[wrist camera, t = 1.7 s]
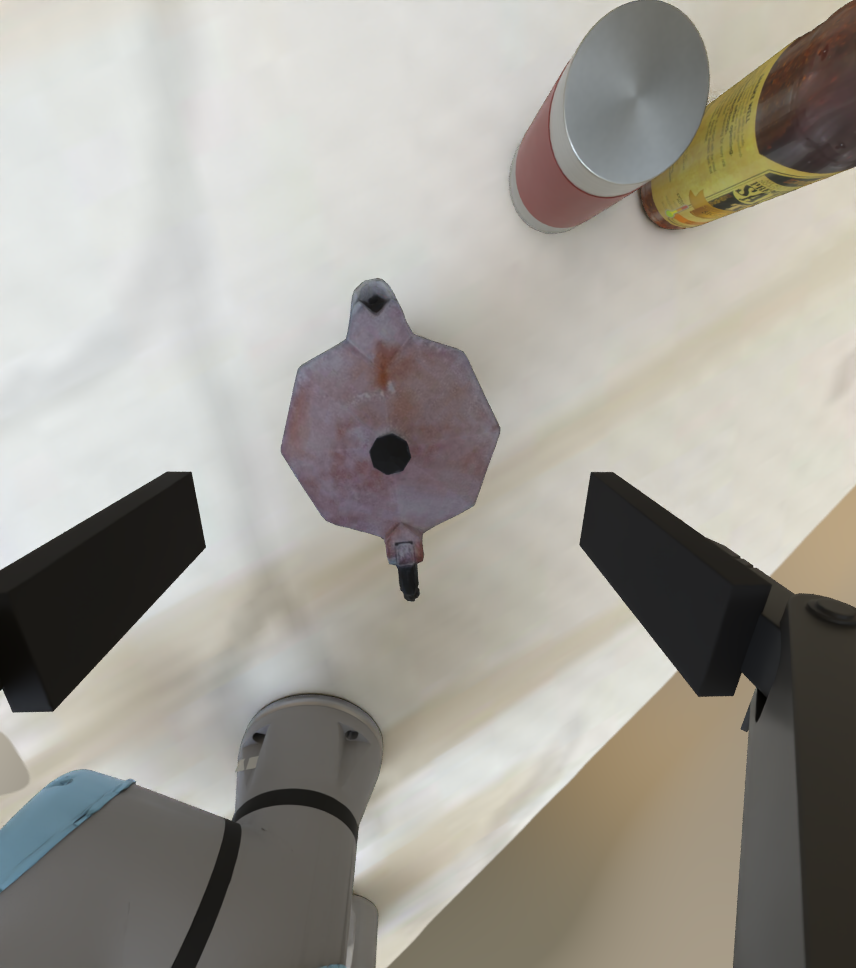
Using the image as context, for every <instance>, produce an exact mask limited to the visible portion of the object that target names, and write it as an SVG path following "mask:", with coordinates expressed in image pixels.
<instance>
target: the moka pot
mask: <svg viewBox="0 0 856 968" xmlns="http://www.w3.org/2000/svg"><path fill="white" fill-rule="evenodd" d="M499 435H500V426H499V424H498V422H497V420H496V418H495V415H494V413H493V411H492V409H491V407H490V405H489V403H488V401H487V399H486V397H485V395H484V393H483V391H482V388H481V386H480V384H479V382H478V380H477V378H476V376H475V374H474V372H473V369H472V367H471V365H470V362H469V360H468V358H467V357H466V355H465V353H464V352H463V351H461V350H459V349H457V348H454V347H451V346H448V345H444V344H441V343H438V342H434V341H431V340H428V339H425V338H423V337H420V336H418V335H415V334H414V333H413V332H412V331H411V329H410V327H409V325H408V323H407V322H406V319H405V316H404V313H403V310H402V308H401V307H400V305H399V303H398V301H397V299H396V297H395V294H394V293H393V291H392V289H391V288H390V286H389V285H388V284H387V283H386V282H385V281H384V280H382V279H379V278H376V279H371V280H366V281H364V282H362V283H361V284H360V285H359V286H358V287H357V288H356V289H355V290H354V293H353V295H352V301H351V312H350V320H349V327H348V332H347V337H346V339H345V340H344V341H342V342H340V343H339V344H337V345H336V346H334V347H333V348H331V349H329V350H327V351H325V352H324V353H322V354H320V355H318V356H316V357H315V358H313V359H311V360H309V361H307V362H306V363H304V364H302V365H301V366H300V367H299V368H298V371H297V375H296V379H295V383H294V388H293V393H292V397H291V402H290V407H289V412H288V417H287V421H286V426H285V431H284V435H283V440H282V445H281V453H282V455H283V457H284V458H285V460H286V461H287V463H288V465H289V466H290V468H291V470H292V471H293V473H294V474H295V476H296V477H297V479H298V481H299V482H300V484H301V485H302V487H303V488H304V490H305V491H306V493H307V494H308V496H309V497H310V499H311V500H312V502H313V503H314V505H315V507H316V508H317V510H318V511H319V513H320V514H321V516H322V517H323V518H324V519H325V520H326V521H328V522H330V523H333V524H335V525H338V526H342V527H347V528H351V529H354V530H358V531H361V532H366V533H370V534H373V535H376V536H379V537H381V538H382V539H384V542H385V545H386V553H387V558H388V561H389V564H392V565H396V566H397V568H398V574H399V584H400V590H401V591H402V592H403V593H404V598H405V599H406V600H407V601H415V599H416V598H418V596H419V595H420V592H419V588H418V585H419V582H418V568H417V564H418V563H420V562H422V561H423V558H424V552H423V544H422V537H423V533H425V532H426V531H428V530H429V529H431V528H433V527H434V526H436V525H438V524H440V523H442V522H444V521H446V520H448V519H450V518H453V517H455V516H456V515H458V514H460V513H462V512H464V511H466V510H467V509H469V508H471V507H473V506H474V505H475V503H476V500H477V497H478V494H479V492H480V489H481V486H482V483H483V480H484V477H485V474H486V471H487V468H488V465H489V463H490V460H491V457H492V454H493V452H494V449H495V446H496V443H497V441H498V438H499Z"/></svg>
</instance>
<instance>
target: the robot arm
mask: <svg viewBox="0 0 856 968" xmlns="http://www.w3.org/2000/svg"><path fill="white" fill-rule="evenodd" d="M579 545H580V546H581V548H582V549H583V550H584V551H585V553H586V554H587V555H588V557H589V558H590V559H591V560H592V562H593V563H594V564H595V565H596V567H597V568H598V569H599V571H600V572H601V573H602V574H603V576H604V577H605V578H606V579H607V581H608V582H609V583H610V585H611V586H612V587H613V588H614V590H615V591H616V592H617V594H618V595H619V596H620V597H621V599H622V600H623V601H624V602H625V604H626V605H627V606H628V608H629V609H630V610H631V611H632V613H633V614H634V615H635V616H636V618H637V619H638V620H639V622H640V623H641V624H642V625H643V627H644V628H645V629H646V630H647V632H648V633H649V634H650V636H651V637H652V638H653V639H654V641H655V642H656V643H657V644H658V646H659V647H660V648H661V650H662V651H663V652H664V653H665V655H666V656H667V657H668V659H669V660H670V661H671V662H672V664H673V665H674V666H675V667H676V669H677V670H678V671H679V672H680V674H681V675H682V676H683V678H684V679H685V680H686V681H687V682H688V684H689V685H690V687H691V688H692V689H693V690H694V692H695V693H696V694H697V695H698V697H703V696H705V697H707V696H733V695H734V693H735V690H736V687H737V685H738V682H739V678H740V676H741V673H743V674H744V675H745V676H746V677H747V678H748V679H749V680H750V681H751V682H752V683H753V684H754V685H755V686H756V689H755V692H754V695H753V697H752V700H751V702H750V705H749V708H748V711H747V713H746V716H745V718H744V721H743V724H742V727H741V730H744V731H746V732H747V731H748V730H749V737H748V750H747V765H746V780H745V795H744V811H743V825H742V840H741V856H740V870H739V885H738V900H737V916H736V930H735V945H734V961H733V968H856V608H855V607H853V606H851V605H848V604H846V603H843V602H840V601H838V600H834V599H831V598H829V597H824V596H820V595H814V594H802V593H801V594H800V593H799V594H796V595H795V594H794V593H792V592H791V591H789V590H788V589H787V588H785V587H784V586H782V585H781V584H779V583H778V582H776V581H775V580H773V579H772V578H771V577H769V576H768V575H766V574H765V573H763V572H762V571H760V570H759V569H758V568H753V565H752V564H750V563H749V562H747V561H746V560H744V559H740V556H739V555H737V554H736V553H734V552H733V551H731V550H730V549H729V548H727V547H726V546H724V545H722V544H719V543H717V542H715V541H713V540H710V539H708V538H706V537H704V536H703V535H701V534H700V533H699V532H697V531H696V530H694V529H693V528H691V527H690V526H689V525H687V524H686V523H684V522H683V521H682V520H680V519H679V518H677V517H676V516H674V515H673V514H672V513H670V512H669V511H667V510H666V509H665V508H663V507H662V506H660V505H659V504H657V503H656V502H655V501H653V500H652V499H650V498H649V497H648V496H646V495H645V494H643V493H642V492H640V491H639V490H638V489H636V488H635V487H633V486H632V485H631V484H629V483H628V482H626V481H625V480H623V479H622V478H621V477H619V476H618V475H616V474H615V473H614V472H591V475H590V481H589V487H588V494H587V500H586V506H585V513H584V519H583V525H582V532H581V538H580V544H579ZM205 548H206V545H205V540H204V535H203V530H202V524H201V519H200V514H199V509H198V503H197V498H196V493H195V487H194V482H193V477H192V472H166V473H164V474H162V475H161V476H159V477H157V478H156V479H154V480H152V481H151V482H149V483H147V484H146V485H144V486H142V487H140V488H139V489H137V490H135V491H134V492H132V493H130V494H129V495H127V496H125V497H124V498H122V499H120V500H118V501H117V502H115V503H113V504H112V505H110V506H108V507H107V508H105V509H103V510H102V511H100V512H98V513H96V514H95V515H93V516H91V517H90V518H88V519H86V520H85V521H83V522H81V523H80V524H78V525H76V526H74V527H73V528H71V529H69V530H68V531H66V532H64V533H63V534H61V535H59V536H58V537H56V538H54V539H52V540H51V541H49V542H47V543H46V544H44V545H42V546H41V547H39V548H37V549H36V550H34V551H32V552H30V553H29V554H27V555H25V556H24V557H22V558H20V559H19V560H17V561H15V562H14V563H12V564H10V565H8V566H7V567H5V568H3V569H2V570H0V690H2V689H3V691H4V694H5V696H6V698H7V700H8V703H9V705H10V707H11V710H12V712H53V711H54V710H55V709H56V708H57V707H58V706H59V705H60V704H61V703H62V701H63V700H64V699H65V698H66V697H67V696H68V695H69V694H70V693H71V692H72V691H73V690H74V689H75V687H76V686H77V685H78V684H79V683H80V682H81V681H82V680H83V679H84V678H85V677H86V676H87V675H88V674H89V672H90V671H91V670H92V669H93V668H94V667H95V666H96V665H97V664H98V663H99V662H100V661H101V660H102V658H103V657H104V656H105V655H106V654H107V653H108V652H109V651H110V650H111V649H112V648H113V647H114V646H115V645H116V643H117V642H118V641H119V640H120V639H121V638H122V637H123V636H124V635H125V634H126V633H127V632H128V631H129V629H130V628H131V627H132V626H133V625H134V624H135V623H136V622H137V621H138V620H139V619H140V618H141V617H142V616H143V614H144V613H145V612H146V611H147V610H148V609H149V608H150V607H151V606H152V605H153V604H154V603H155V602H156V600H157V599H158V598H159V597H160V596H161V595H162V594H163V593H164V592H165V591H166V590H167V589H168V588H169V586H170V585H171V584H172V583H173V582H174V581H175V580H176V579H177V578H178V577H179V576H180V575H181V574H182V573H183V571H184V570H185V569H186V568H187V567H188V566H189V565H190V564H191V563H192V562H193V561H194V560H195V559H196V557H197V556H198V555H199V554H200V553H201V552H202V551H203V550H204V549H205ZM382 754H383V741H382V736H381V733H380V730H379V729H378V727H377V725H376V724H375V722H374V721H373V720H372V718H371V717H370V716H369V715H368V714H367V713H365V712H364V711H363V710H361V709H360V708H358V707H357V706H355V705H353V704H351V703H349V702H347V701H344V700H342V699H338V698H335V697H331V696H325V695H310V694H308V695H297V696H292V697H287V698H284V699H281V700H278V701H276V702H274V703H272V704H270V705H268V706H267V707H265V708H263V709H262V710H261V711H260V712H259V713H258V714H256V715H255V717H254V718H253V719H252V720H251V722H250V723H249V725H248V727H247V729H246V732H245V734H244V737H243V739H242V742H241V746H240V750H239V755H238V766H237V768H236V771H235V772H237V786H236V804H235V813H234V816H233V819H232V821H230V820H228V819H225V818H223V817H220V816H217V815H215V814H212V813H209V812H207V811H204V810H201V809H199V808H196V807H193V806H191V805H188V804H186V803H183V802H180V801H178V800H175V799H172V798H170V797H167V796H165V795H162V794H159V793H157V792H154V791H151V790H149V789H146V788H143V787H141V786H138V785H136V784H135V783H136V781H135V780H133V779H128V780H126V781H124V780H121V779H118V778H114V777H111V776H108V775H105V774H101V773H98V772H95V771H92V770H86V769H81V770H75V771H71V772H69V773H66V774H64V775H62V776H60V777H58V778H57V779H55V780H54V781H52V782H51V783H49V784H48V785H47V786H46V787H44V788H43V789H42V790H41V791H40V792H39V793H37V794H36V795H35V796H34V797H33V798H32V799H31V800H30V801H29V802H28V803H27V804H26V805H25V806H24V807H23V808H21V809H20V810H19V811H18V812H17V813H16V814H15V815H14V816H13V817H12V818H11V819H10V820H9V821H8V822H7V823H6V824H5V826H4V827H3V828H2V829H1V830H0V968H347V967H346V958H347V947H348V936H349V925H350V915H351V904H352V893H353V882H354V872H355V861H356V849H357V839H358V829H359V824H360V822H361V819H362V817H363V814H364V812H365V809H366V807H367V804H368V802H369V799H370V797H371V794H372V792H373V789H374V787H375V784H376V781H377V779H378V776H379V773H380V768H381V764H382Z"/></svg>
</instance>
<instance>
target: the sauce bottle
mask: <svg viewBox="0 0 856 968" xmlns="http://www.w3.org/2000/svg"><path fill="white" fill-rule="evenodd" d="M853 167H856V0H853V1H851V2H849V3H847V4H846V5H845V6H843V7H842V8H840V9H838V10H837V11H836V12H835V13H834V14H833V15H831V16H830V17H829V18H828V19H827V20H826V21H825V22H823V23H822V24H820V25H818V26H817V27H816V28H815V29H813V30H812V31H810V32H808V33H806V34H804V35H803V36H802V37H798V38H797V39H796V40H794V41H793V42H792V43H790V44H789V45H787V46H786V47H785V48H783V49H782V50H781V51H779V52H778V53H777V54H775V55H774V56H773V57H771V58H770V59H769V60H767V61H766V62H765V63H763V64H762V65H761V66H759V67H758V68H757V69H755V70H754V71H753V72H751V73H750V74H749V75H747V76H746V77H745V78H743V79H742V80H741V81H740V82H738V83H737V84H735V85H734V86H733V87H731V88H730V89H729V90H727V91H726V92H725V93H723V94H722V95H721V96H719V97H718V98H717V99H715V100H714V101H713V102H711V103H710V104H709V105H707V106H706V109H705V113H704V116H703V118H702V121H701V124H700V126H699V128H698V130H697V133H696V135H695V137H694V138H693V140H692V142H691V143H690V145H689V146H688V148H687V149H686V151H685V152H684V153H683V155H682V156H681V157H680V158H679V159H678V160H677V161H676V162H675V163H674V164H673V165H672V166H671V167H670V168H668V169H667V170H666V171H664V172H663V173H662V174H660V175H659V176H657V177H655V178H654V179H652V180H651V181H649V182H648V183H646V184H645V185H644V186H642V187H641V199H642V202H643V207H644V209H645V212H646V214H647V215H648V217H649V219H650V220H651V221H653V222H654V223H655V224H657V225H658V226H660V227H662V228H666V229H680V228H681V229H685V228H691V227H696V226H700V225H702V224H705V223H708V222H710V221H713V220H716V219H718V218H721V217H724V216H726V215H729V214H732V213H735V212H737V211H740V210H743V209H745V208H748V207H752V206H754V205H757V204H759V203H762V202H764V201H767V200H770V199H772V198H775V197H777V196H780V195H783V194H786V193H788V192H791V191H794V190H796V189H798V188H801V187H803V186H806V185H809V184H812V183H814V182H817V181H820V180H823V179H826V178H828V177H831V176H833V175H835V174H838V173H840V172H843V171H846V170H848V169H851V168H853Z"/></svg>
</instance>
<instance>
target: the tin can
mask: <svg viewBox="0 0 856 968" xmlns="http://www.w3.org/2000/svg"><path fill="white" fill-rule="evenodd" d="M709 81H710V74H709V62H708V57H707V52H706V49H705V45H704V42H703V40H702V38H701V36H700V33H699V31H698V30H697V28H696V27H695V25H694V24H693V22H692V21H691V20H690V19H689V18H688V17H687V16H686V15H685V14H684V13H683V12H682V11H680V10H679V9H678V8H676V7H674V6H672V5H671V4H668V3H665V2H662V1H658V0H638V1H633V2H629V3H627V4H624V5H621V6H619V7H617V8H616V9H614V10H612V11H610V12H609V13H608V14H606V15H605V16H604V17H602V18H601V19H600V20H599V21H598V22H597V23H596V24H595V25H594V26H593V27H592V28H591V29H590V31H589V32H588V33H587V34H586V36H585V37H584V39H583V40H582V42H581V43H580V45H579V47H578V48H577V50H576V52H575V53H574V55H573V57H572V58H571V59H570V61H569V62H568V63H567V65H566V67H565V68H564V70H563V71H562V73H561V75H560V76H559V78H558V80H557V81H556V83H555V85H554V86H553V88H552V90H551V91H550V93H549V95H548V96H547V98H546V100H545V101H544V103H543V105H542V107H541V108H540V110H539V112H538V113H537V115H536V117H535V118H534V120H533V122H532V123H531V125H530V127H529V128H528V130H527V132H526V133H525V135H524V137H523V139H522V142H521V143H520V145H519V147H518V149H517V151H516V153H515V155H514V158H513V161H512V164H511V169H510V176H509V186H510V194H511V198H512V201H513V204H514V207H515V209H516V211H517V213H518V214H519V216H520V217H521V218H522V219H523V220H524V222H525V223H527V224H528V225H529V226H530V227H532V228H534V229H535V230H538V231H540V232H544V233H550V234H554V233H562V232H566V231H568V230H571V229H573V228H575V227H576V226H578V225H580V224H582V223H584V222H586V221H587V220H589V219H591V218H592V217H594V216H596V215H597V214H599V213H601V212H602V211H604V210H605V209H607V208H609V207H610V206H612V205H614V204H615V203H617V202H618V201H620V200H622V199H623V198H625V197H627V196H628V195H630V194H631V193H633V192H635V191H636V190H638V189H639V188H641V187H642V186H644V185H645V184H646V183H648V182H649V181H651V180H652V179H654V178H655V177H657V176H659V175H660V174H662V173H663V172H664V171H666V170H667V169H668V168H670V167H671V166H672V165H673V164H674V163H675V162H676V161H677V160H678V159H679V158H680V157H681V156H682V155H683V153H684V152H685V151H686V149H687V148H688V146H689V145H690V143H691V142H692V140H693V138H694V137H695V135H696V133H697V130H698V128H699V126H700V124H701V121H702V118H703V116H704V113H705V109H706V105H707V100H708V93H709Z"/></svg>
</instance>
